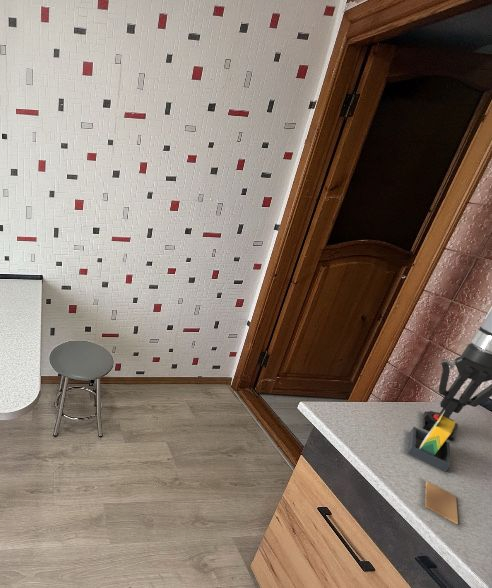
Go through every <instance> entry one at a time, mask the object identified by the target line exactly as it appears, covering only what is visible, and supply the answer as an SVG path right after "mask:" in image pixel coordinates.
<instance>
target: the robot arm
mask: <svg viewBox="0 0 492 588" xmlns="http://www.w3.org/2000/svg"><path fill="white" fill-rule="evenodd" d="M470 342H471V343H468V344H467V346H466V347H465V349H464V350H463V352H462V353H461V355H460V356H458V357H456V358H454V360H451V359H450V360H447V359H445V358H443V359H441V361H440V362H441V363H440V364H441V367H442V371H441V375H440V380H439V386H438V394H439V395H442V396H443V398H442V399H441V401H440V403H439V406H440V408H442V409H441V410H440V411H439V412H438V413H439V418H440V416H441V415H442V413H443V412H444V410H445V412H444V414H443V417H446V418H450V417H451V415H452V414H453V413H455V414H459V413H460V412H461V411H462V409H463V408H464V407H466V406H471V407H473V408H476V407H478V406H479V405H480V404H483V403H484V402H485V401H486V400H488V399H489V398H491V397H492V383H491V384H489V385H488V386H487V387H485V388H484V389H482V390H481V391H480V392H478V393H476V394H475V392H476V391H477V389H478V388H479V387H480V386H481V385H482V383H485V382H489V381H492V308H491V309H490V311H489V312H488V314H487V315H486V317H485V319H484V320H483V322H482V323H481V325H480V327H479V328H478V329H477V330H476V332H475V334H474V335H473V336H472V338H471V339H470ZM454 366H456V369H457V372H458V375H457V377H456V378H455V380H454V382H452V384H451V385H450V387H449V389H447V386H448V382H449V377H450V372H451V371H450V370H452V369H454ZM468 379H469V380H470V382H469V383H468V385H467V386H466V387H465V389H464V390H463V392H462V393H461V395H460V396H459V398H458V399H457V398H455V396H456V395H457V394H458V392H459V391H460V389H461V388H462V387H463V385H464V384H465V382H466V381H467V380H468ZM474 394H475V395H474ZM473 395H474V396H473ZM472 396H473V397H472Z"/></svg>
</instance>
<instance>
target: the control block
mask: <svg viewBox="0 0 492 588" xmlns="http://www.w3.org/2000/svg"><path fill="white" fill-rule="evenodd" d="M439 413H440V412H437V411H433V410H429V411H426V410H425V411H424V412H423V415H422V429H423V430H424V431H426V432H428V433H429V432H430V430H431V429H432V427H433V426H434V425H435V423H436V422H437V420H436V419H435V418H434V417H433V416H434V415H435V414H438V415H439ZM448 419H450V420H452V421H454V422H456V421H455V420H454V419H452V418H450V417H449V418H448ZM458 429H459V424H458V423H457V422H456V423H455V426H454V428H453V431H452V433H451V435H450V436H449V437H448V438H447V441H450V442H453V441H454V439H455V434H454V433H456V431H457V430H458Z"/></svg>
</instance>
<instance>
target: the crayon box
mask: <svg viewBox="0 0 492 588" xmlns="http://www.w3.org/2000/svg"><path fill="white" fill-rule="evenodd" d="M444 412H445V410H444ZM444 412H443V413H442V415H441V416H440V418H439V419H438V420H437V422H436V423H435V425H434V426H433V427H432V429H431V430H430V432H429V431H428V432H427V433H428V434H427V436H426V437H425V438H424V440H422V441H421V443H420V445H419V446H418V447H417V448H418V449H420V450H422V451H425V452H427V453H429V454H431V455H433V456H435V457H436V454H437V453H438V452H439V450H440V449H441V446H442V445H443V444H444V442H445V441H448V439H447V438H448V437H449V436H450V435H451V433H452V431H453V428H454V426H455V423H457V422H456V421H455V420H454V421H455V422H454V421H452V420H453V419H452V420H450V419H451V418H450V419H448V418H446V417H443V414H444Z"/></svg>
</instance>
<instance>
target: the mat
mask: <svg viewBox="0 0 492 588" xmlns="http://www.w3.org/2000/svg"><path fill="white" fill-rule="evenodd" d="M424 498H425V501H424V507H425V508H426V509H428V510H430V511H432V512H434V513H436V515H439V516H441V517H443V518H445V519H447V520H449V521H450V522H452V523H453V524H456V525H458V524H459V519H458V517H459V516H458V504H457V503H458V502H457V496H456V495H455V494H453V493H451V492H448V491H446V490H444V488H441V487H439V486H438V485H436V484H433V483H431V482H430V481H428V480H426V481H425V496H424Z"/></svg>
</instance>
